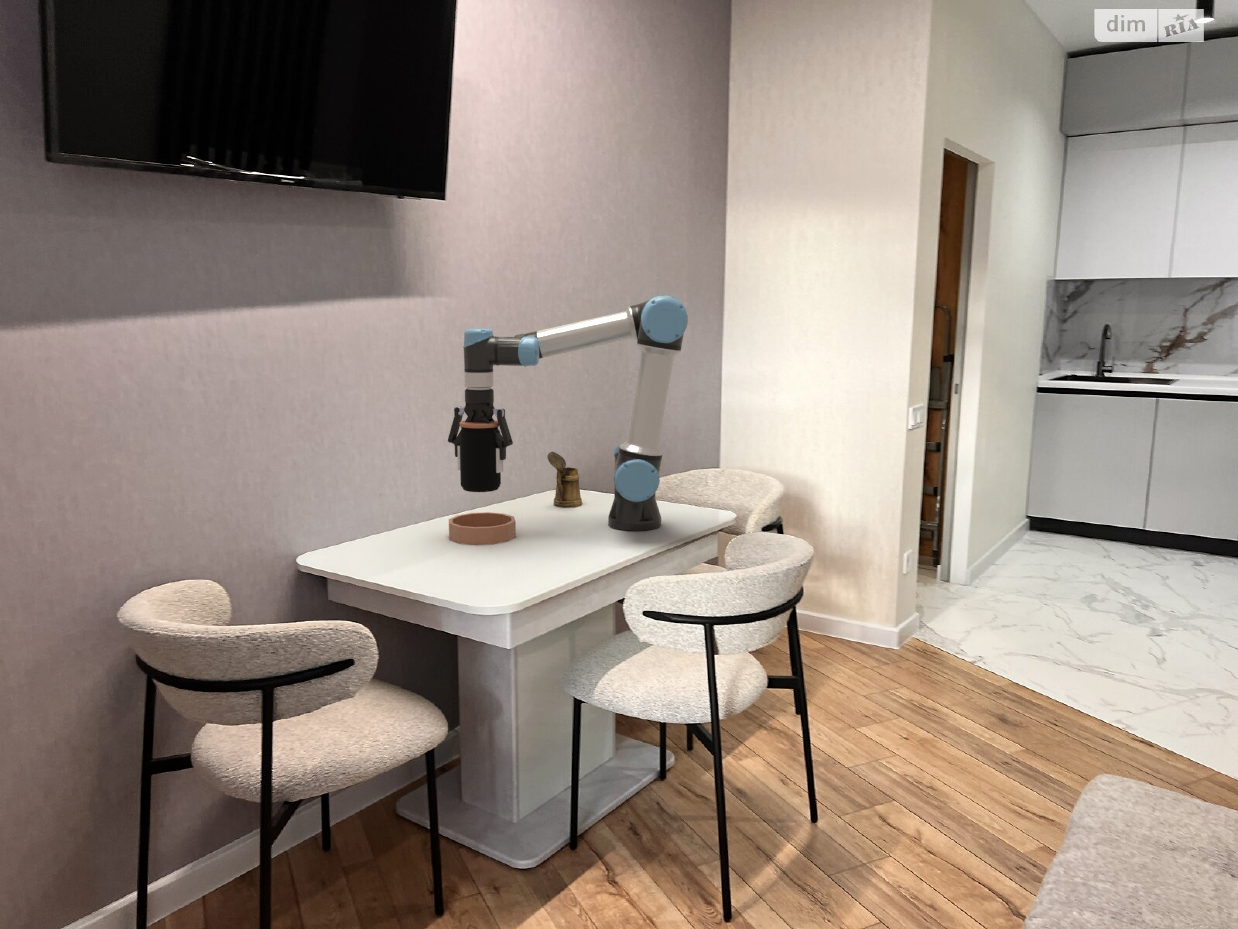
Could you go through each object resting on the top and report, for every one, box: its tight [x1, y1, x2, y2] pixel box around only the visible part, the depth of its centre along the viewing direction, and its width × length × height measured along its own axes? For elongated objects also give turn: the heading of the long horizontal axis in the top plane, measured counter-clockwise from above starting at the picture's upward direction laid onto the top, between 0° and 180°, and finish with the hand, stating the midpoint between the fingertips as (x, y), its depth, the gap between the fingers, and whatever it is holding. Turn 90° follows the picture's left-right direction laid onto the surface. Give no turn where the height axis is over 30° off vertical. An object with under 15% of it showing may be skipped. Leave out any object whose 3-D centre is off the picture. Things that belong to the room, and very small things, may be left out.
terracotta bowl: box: [448, 511, 517, 546], centre depth 252 cm, size 18×18×4 cm
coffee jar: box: [459, 419, 502, 493], centre depth 249 cm, size 11×11×18 cm
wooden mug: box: [546, 451, 583, 508], centre depth 288 cm, size 9×14×18 cm, turn 151°
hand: (480, 470), depth 249 cm, fingers closed on coffee jar, 11 cm apart
